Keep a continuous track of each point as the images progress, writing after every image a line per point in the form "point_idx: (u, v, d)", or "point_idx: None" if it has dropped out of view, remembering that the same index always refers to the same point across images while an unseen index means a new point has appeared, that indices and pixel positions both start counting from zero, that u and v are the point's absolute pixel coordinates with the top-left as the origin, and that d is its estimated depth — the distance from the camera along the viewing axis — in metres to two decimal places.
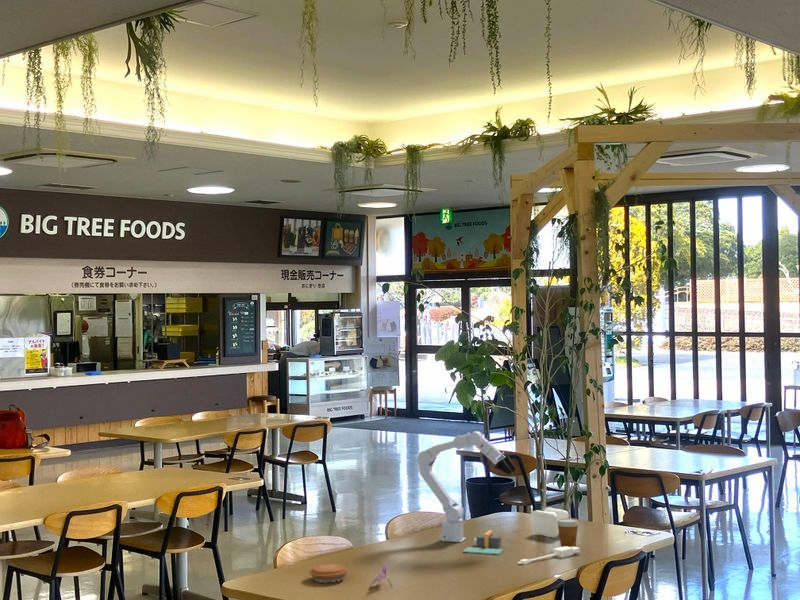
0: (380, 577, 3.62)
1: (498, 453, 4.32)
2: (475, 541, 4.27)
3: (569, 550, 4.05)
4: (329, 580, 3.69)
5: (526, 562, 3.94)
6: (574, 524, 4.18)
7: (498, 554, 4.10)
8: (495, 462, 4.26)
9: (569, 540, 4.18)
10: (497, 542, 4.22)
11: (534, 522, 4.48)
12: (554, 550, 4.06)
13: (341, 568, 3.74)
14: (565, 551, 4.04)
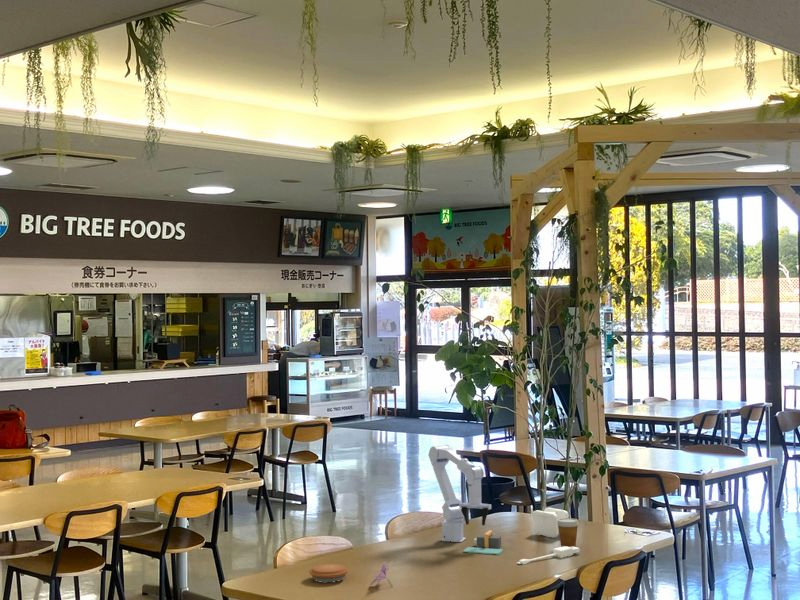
0: (380, 577, 3.62)
1: (470, 502, 4.27)
2: (475, 541, 4.27)
3: (569, 550, 4.05)
4: (329, 580, 3.69)
5: (525, 562, 3.94)
6: (574, 524, 4.18)
7: (498, 554, 4.10)
8: None
9: (569, 540, 4.18)
10: (497, 542, 4.22)
11: (534, 522, 4.48)
12: (554, 550, 4.06)
13: (341, 568, 3.74)
14: (565, 551, 4.04)
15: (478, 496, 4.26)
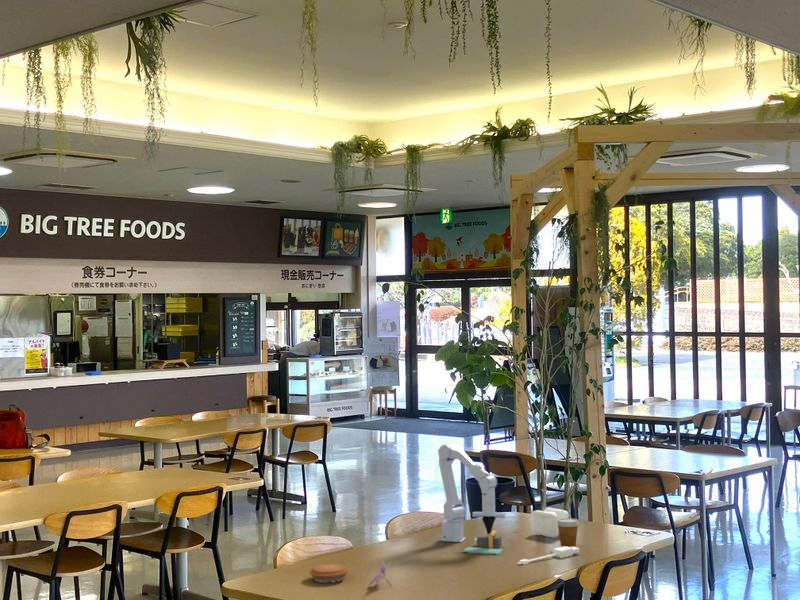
0: (379, 577, 3.62)
1: (484, 511, 4.24)
2: (475, 541, 4.26)
3: (569, 550, 4.05)
4: (329, 580, 3.69)
5: (526, 562, 3.93)
6: (574, 524, 4.18)
7: (498, 554, 4.10)
8: None
9: (569, 540, 4.18)
10: (497, 542, 4.22)
11: (534, 522, 4.48)
12: (554, 550, 4.06)
13: (341, 568, 3.74)
14: (565, 551, 4.04)
15: (492, 505, 4.24)
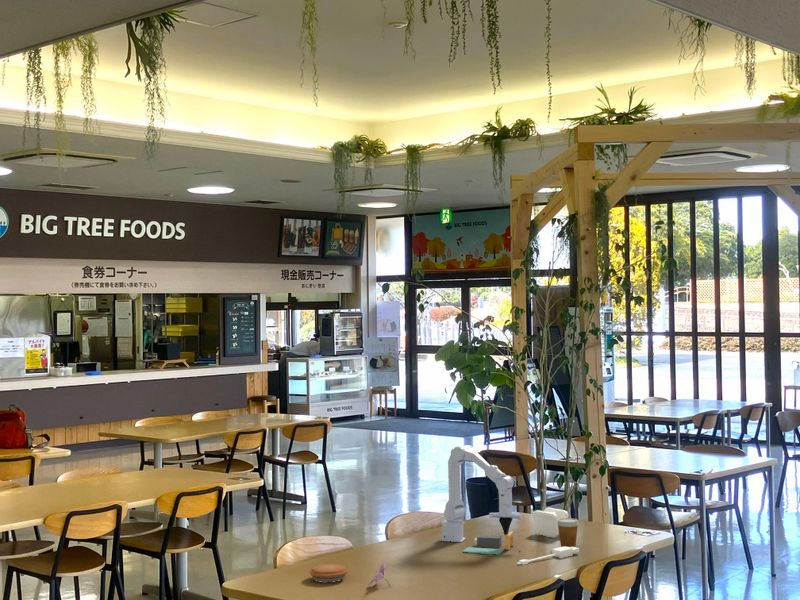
0: (378, 577, 3.62)
1: (501, 512, 4.22)
2: (475, 541, 4.26)
3: (568, 550, 4.05)
4: (329, 580, 3.69)
5: (525, 562, 3.93)
6: (574, 524, 4.18)
7: (498, 554, 4.10)
8: None
9: (569, 540, 4.18)
10: (498, 542, 4.22)
11: (534, 522, 4.48)
12: (553, 550, 4.06)
13: (341, 568, 3.74)
14: (564, 551, 4.04)
15: (509, 506, 4.21)
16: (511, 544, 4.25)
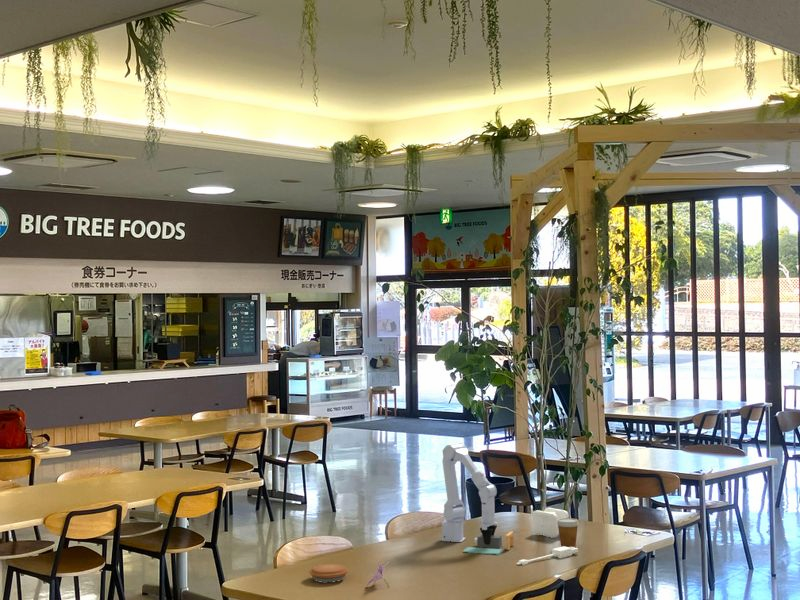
0: (376, 577, 3.62)
1: (492, 521, 4.24)
2: (476, 541, 4.26)
3: (567, 550, 4.05)
4: (329, 580, 3.69)
5: (525, 562, 3.93)
6: (574, 524, 4.18)
7: (498, 554, 4.10)
8: (483, 528, 4.19)
9: (569, 540, 4.18)
10: (498, 542, 4.22)
11: (534, 522, 4.48)
12: (552, 550, 4.06)
13: (341, 568, 3.74)
14: (564, 551, 4.03)
15: None
16: (511, 544, 4.25)
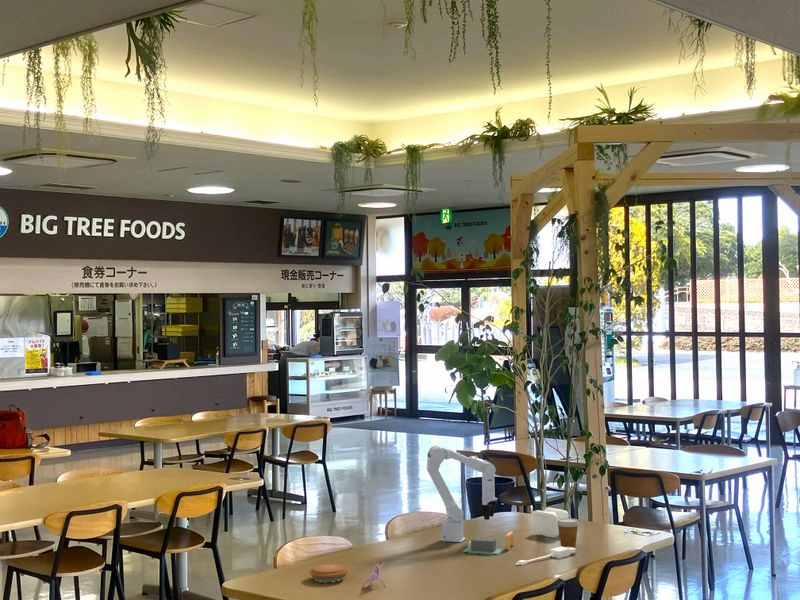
0: (373, 578, 3.61)
1: (492, 496, 4.40)
2: (469, 544, 4.17)
3: (566, 551, 4.05)
4: (329, 580, 3.69)
5: (524, 563, 3.92)
6: (574, 524, 4.18)
7: (498, 554, 4.10)
8: (484, 503, 4.36)
9: (569, 540, 4.18)
10: (492, 545, 4.13)
11: (534, 522, 4.48)
12: (551, 551, 4.05)
13: (341, 568, 3.74)
14: (562, 552, 4.03)
15: None
16: (511, 544, 4.25)
